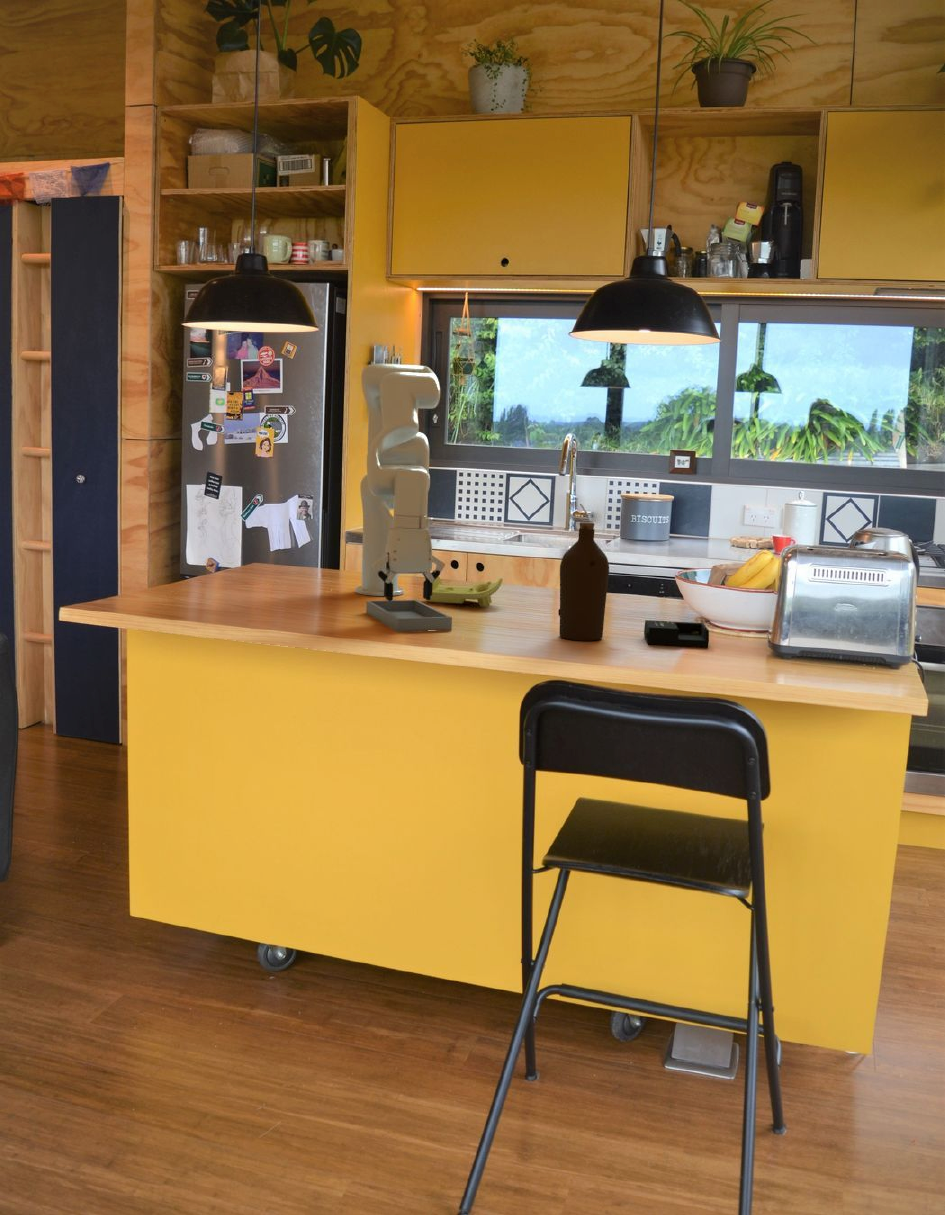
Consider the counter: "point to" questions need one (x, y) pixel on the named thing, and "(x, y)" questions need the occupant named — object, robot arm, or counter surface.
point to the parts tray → (408, 615)
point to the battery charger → (676, 634)
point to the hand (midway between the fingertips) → (408, 599)
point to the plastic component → (464, 592)
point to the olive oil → (583, 588)
